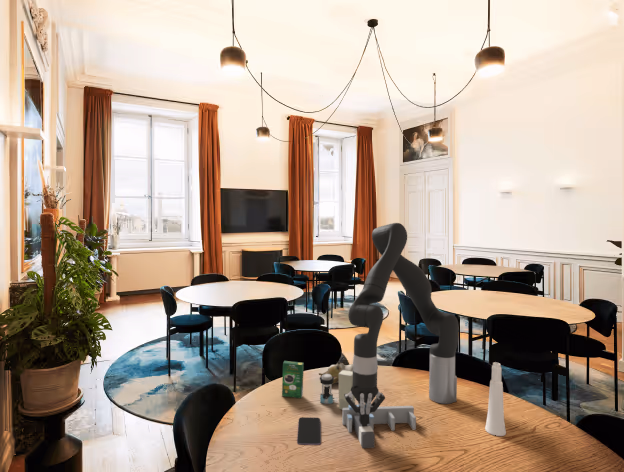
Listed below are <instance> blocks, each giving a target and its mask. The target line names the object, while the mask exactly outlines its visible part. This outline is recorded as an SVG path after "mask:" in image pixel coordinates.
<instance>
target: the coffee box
mask: <svg viewBox="0 0 624 472" xmlns="http://www.w3.org/2000/svg"><path fill="white" fill-rule="evenodd" d="M304 365H305V364H304V362H298V361H288V360H284V361H283V363H282V385H281V387H282V388H281V397H284V398H285V397H286V398H296V399H302V398H303V392H304V370H305V369H304V368H305V366H304Z"/></svg>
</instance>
